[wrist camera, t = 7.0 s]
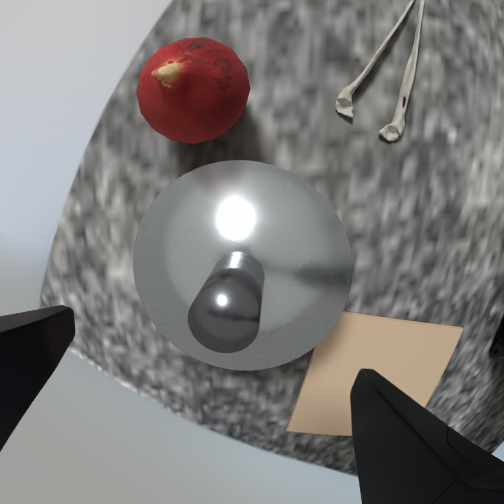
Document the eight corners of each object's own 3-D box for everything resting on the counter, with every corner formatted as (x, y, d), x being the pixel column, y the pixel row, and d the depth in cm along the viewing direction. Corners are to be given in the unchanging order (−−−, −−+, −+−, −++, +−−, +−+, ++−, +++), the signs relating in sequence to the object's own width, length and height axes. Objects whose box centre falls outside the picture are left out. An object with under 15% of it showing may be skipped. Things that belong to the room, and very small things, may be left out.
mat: (461, 327, 21) (463, 329, 21) (405, 433, 24) (406, 435, 24) (325, 308, 21) (326, 310, 21) (286, 427, 24) (286, 431, 24)
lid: (370, 185, 15) (418, 196, 9) (318, 375, 18) (329, 445, 13) (150, 147, 15) (92, 140, 10) (135, 339, 18) (93, 394, 13)
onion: (196, 49, 17) (154, -7, 10) (271, 87, 18) (268, 38, 10) (149, 121, 19) (83, 101, 11) (221, 163, 19) (186, 161, 12)
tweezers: (391, 146, 19) (403, 143, 17) (328, 112, 19) (334, 104, 17) (446, -10, 15) (456, -21, 13) (398, -39, 15) (405, -51, 13)
